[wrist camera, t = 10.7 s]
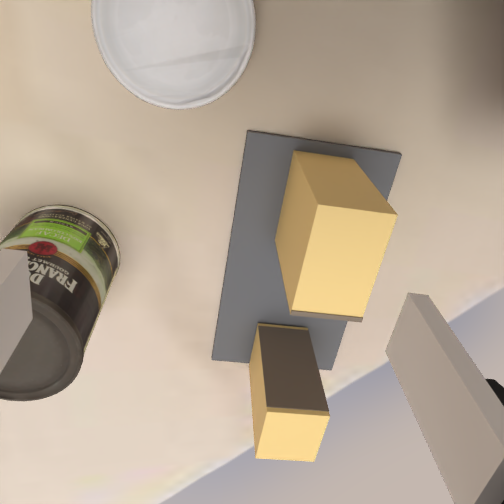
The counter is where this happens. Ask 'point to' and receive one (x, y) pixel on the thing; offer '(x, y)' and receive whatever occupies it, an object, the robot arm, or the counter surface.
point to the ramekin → (175, 47)
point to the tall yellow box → (331, 237)
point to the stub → (286, 394)
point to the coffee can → (58, 297)
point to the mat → (264, 249)
